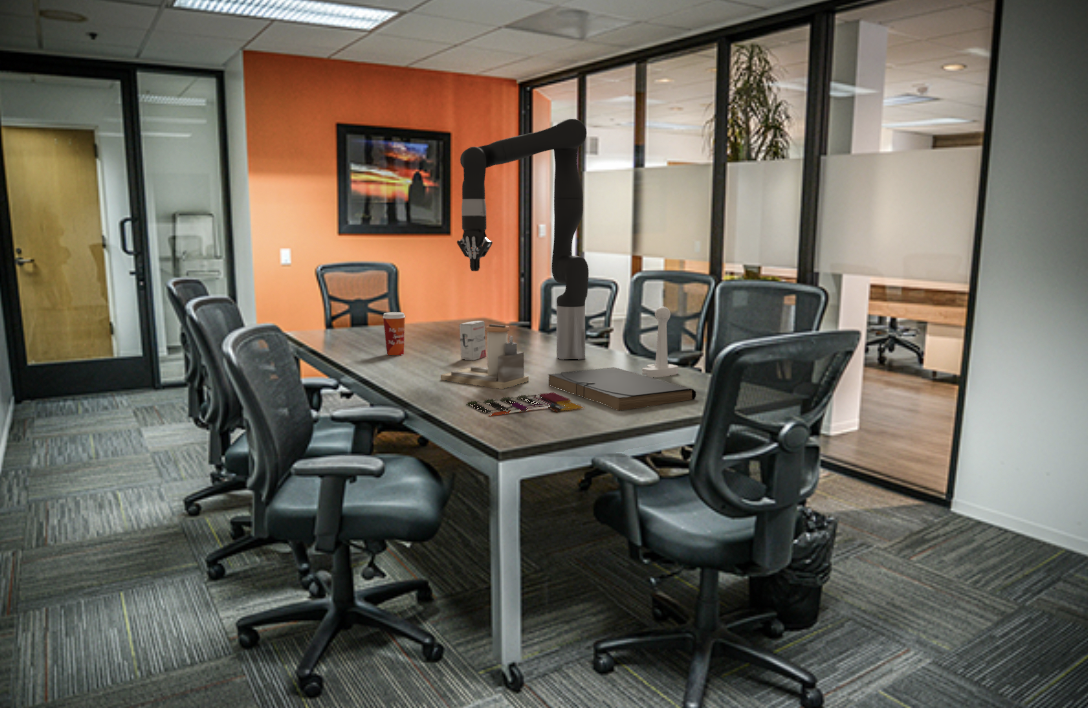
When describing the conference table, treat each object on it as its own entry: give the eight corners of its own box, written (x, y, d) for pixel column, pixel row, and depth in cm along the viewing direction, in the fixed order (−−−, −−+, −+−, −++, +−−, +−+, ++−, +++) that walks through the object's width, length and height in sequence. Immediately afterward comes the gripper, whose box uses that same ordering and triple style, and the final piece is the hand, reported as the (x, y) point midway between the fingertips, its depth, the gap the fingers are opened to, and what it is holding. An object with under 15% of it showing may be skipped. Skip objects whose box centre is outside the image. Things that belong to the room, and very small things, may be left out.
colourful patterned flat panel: (555, 396, 198) (555, 386, 197) (589, 411, 182) (590, 400, 182) (465, 407, 186) (465, 396, 186) (494, 424, 171) (494, 412, 171)
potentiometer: (502, 354, 207) (502, 336, 206) (510, 352, 210) (509, 334, 209) (512, 355, 205) (512, 337, 205) (519, 354, 208) (519, 335, 207)
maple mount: (440, 379, 216) (440, 350, 214) (468, 372, 225) (467, 344, 224) (502, 389, 203) (501, 358, 202) (528, 381, 213) (528, 351, 212)
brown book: (547, 372, 207) (619, 365, 219) (547, 387, 208) (619, 379, 220) (618, 396, 179) (696, 386, 191) (617, 413, 180) (695, 402, 192)
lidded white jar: (481, 377, 211) (480, 325, 208) (495, 373, 216) (495, 322, 213) (499, 380, 207) (499, 327, 204) (514, 376, 212) (514, 324, 210)
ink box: (473, 355, 255) (472, 320, 253) (486, 356, 253) (485, 321, 251) (459, 359, 247) (458, 323, 245) (472, 360, 245) (472, 324, 243)
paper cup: (391, 357, 252) (389, 315, 249) (379, 354, 257) (377, 313, 255) (411, 354, 257) (410, 313, 255) (399, 351, 263) (398, 311, 260)
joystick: (651, 378, 217) (653, 308, 213) (634, 374, 223) (635, 306, 220) (680, 374, 223) (682, 306, 219) (663, 369, 229) (665, 303, 226)
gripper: (449, 214, 235) (451, 271, 238) (482, 214, 227) (483, 272, 230) (465, 214, 241) (466, 269, 244) (498, 214, 233) (499, 271, 236)
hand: (475, 270), depth 237 cm, fingers closed
